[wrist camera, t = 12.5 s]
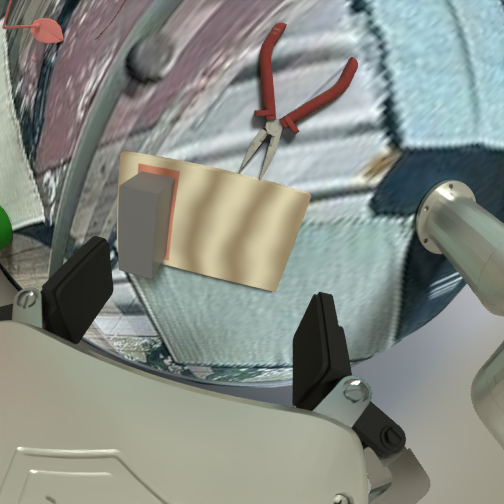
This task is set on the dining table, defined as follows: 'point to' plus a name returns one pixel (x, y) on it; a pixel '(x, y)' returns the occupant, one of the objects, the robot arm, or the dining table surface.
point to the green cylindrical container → (4, 229)
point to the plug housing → (144, 222)
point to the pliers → (276, 126)
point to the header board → (225, 220)
